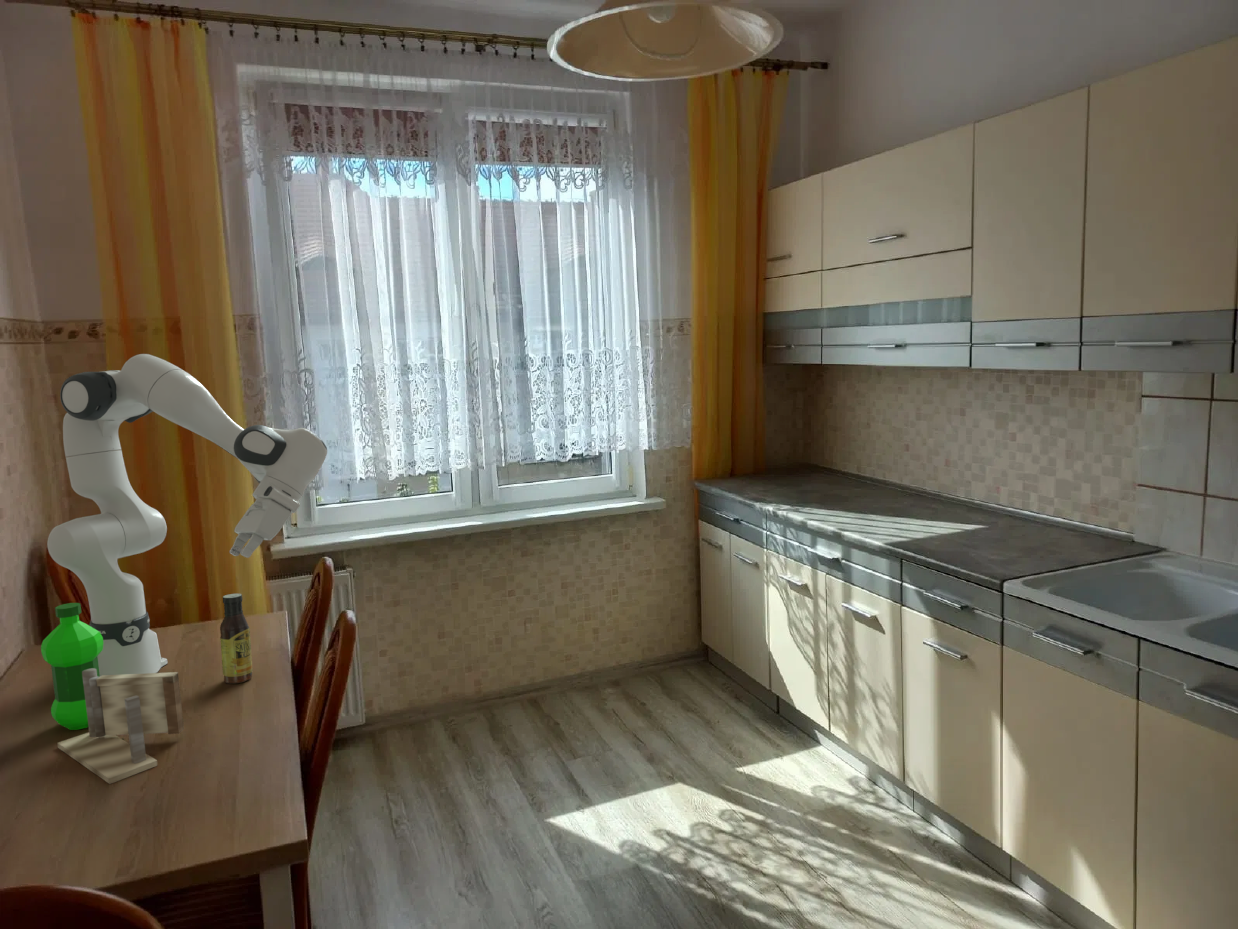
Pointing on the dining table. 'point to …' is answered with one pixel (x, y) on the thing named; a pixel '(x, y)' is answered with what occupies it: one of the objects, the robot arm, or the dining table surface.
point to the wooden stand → (110, 743)
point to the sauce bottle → (235, 642)
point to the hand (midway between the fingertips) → (238, 555)
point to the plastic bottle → (71, 664)
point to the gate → (155, 702)
